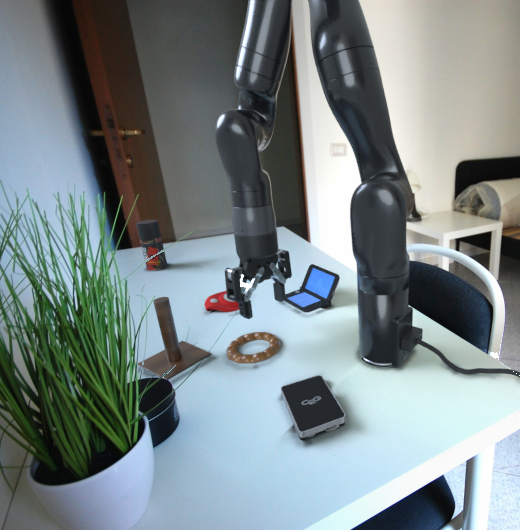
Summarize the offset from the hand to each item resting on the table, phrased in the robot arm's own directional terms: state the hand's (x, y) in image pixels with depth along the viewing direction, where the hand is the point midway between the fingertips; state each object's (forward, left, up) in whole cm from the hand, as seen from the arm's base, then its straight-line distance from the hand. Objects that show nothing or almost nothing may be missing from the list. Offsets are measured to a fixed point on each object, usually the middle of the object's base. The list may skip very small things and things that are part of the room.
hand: (264, 308), depth 73 cm
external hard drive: (-20, +11, -8) cm, 24 cm away
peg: (+10, +14, -8) cm, 19 cm away
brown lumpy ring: (0, +4, -7) cm, 8 cm away
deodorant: (+65, -15, -8) cm, 67 cm away
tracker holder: (+21, -8, -8) cm, 23 cm away
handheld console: (+5, -19, -8) cm, 21 cm away
